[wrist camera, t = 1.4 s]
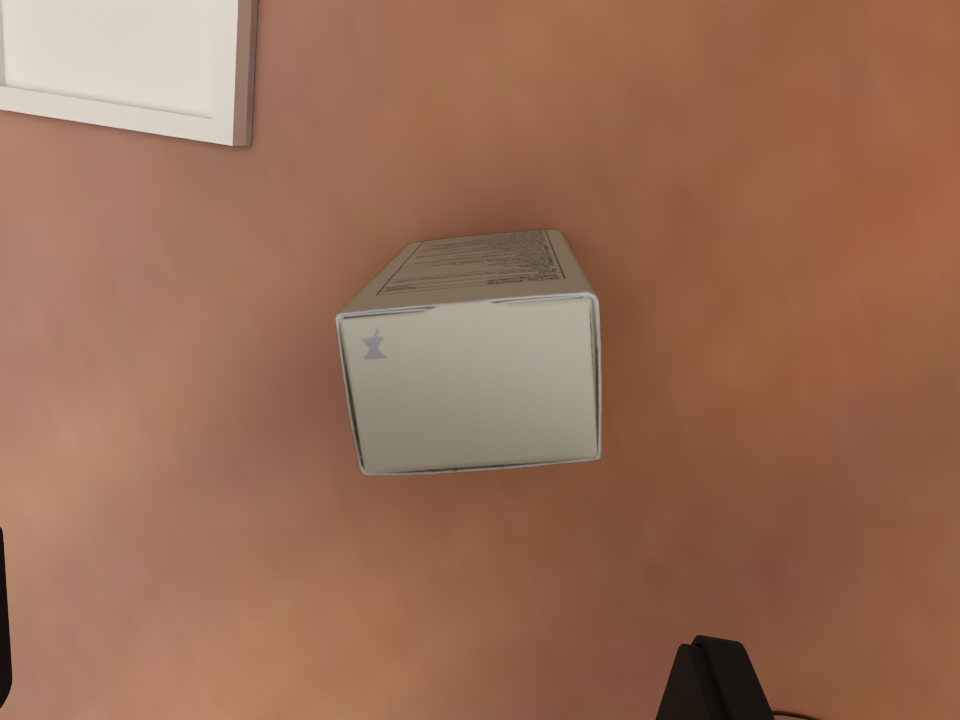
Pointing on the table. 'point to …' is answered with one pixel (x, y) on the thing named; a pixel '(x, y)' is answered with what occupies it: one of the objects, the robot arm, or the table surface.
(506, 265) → the skincare box
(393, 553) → the table surface
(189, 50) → the tray
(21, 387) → the table surface
